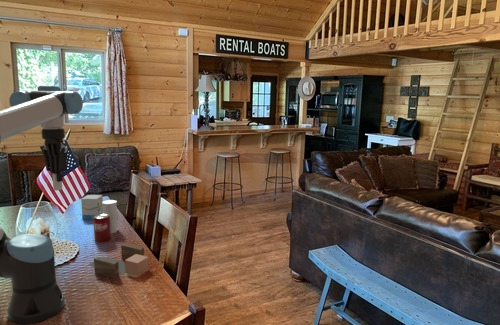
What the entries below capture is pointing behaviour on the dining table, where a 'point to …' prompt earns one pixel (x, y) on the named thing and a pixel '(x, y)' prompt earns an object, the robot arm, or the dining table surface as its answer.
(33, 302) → the robot arm
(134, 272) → the terracotta block
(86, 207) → the ink box
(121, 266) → the mat
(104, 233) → the soda can
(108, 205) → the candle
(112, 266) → the tunnel walls
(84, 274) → the dining table surface
